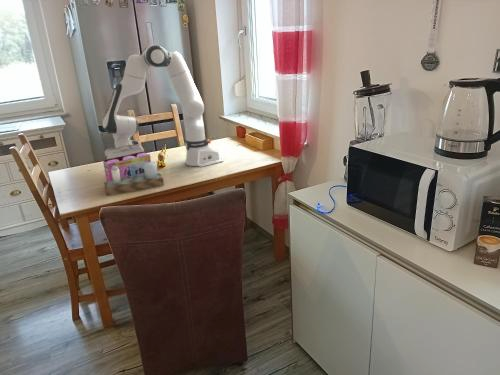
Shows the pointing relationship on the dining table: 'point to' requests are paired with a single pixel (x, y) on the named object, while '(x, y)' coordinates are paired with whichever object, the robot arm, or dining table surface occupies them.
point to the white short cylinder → (150, 170)
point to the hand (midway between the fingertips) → (129, 168)
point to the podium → (132, 184)
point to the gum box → (127, 165)
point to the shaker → (116, 175)
